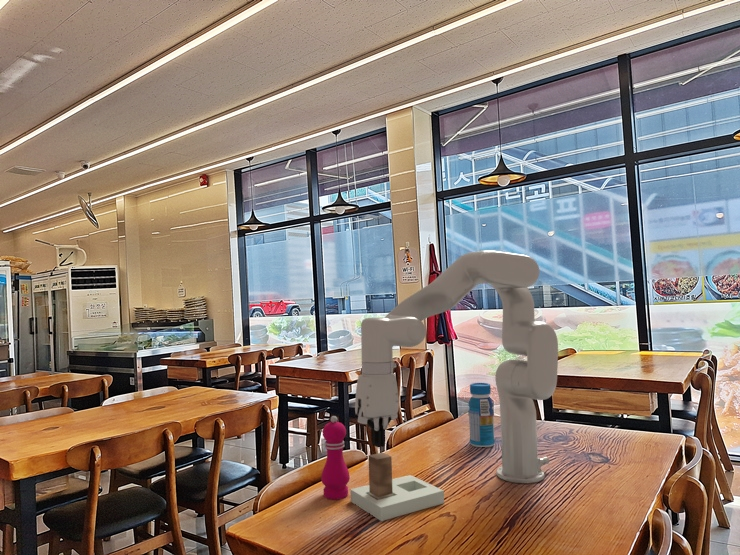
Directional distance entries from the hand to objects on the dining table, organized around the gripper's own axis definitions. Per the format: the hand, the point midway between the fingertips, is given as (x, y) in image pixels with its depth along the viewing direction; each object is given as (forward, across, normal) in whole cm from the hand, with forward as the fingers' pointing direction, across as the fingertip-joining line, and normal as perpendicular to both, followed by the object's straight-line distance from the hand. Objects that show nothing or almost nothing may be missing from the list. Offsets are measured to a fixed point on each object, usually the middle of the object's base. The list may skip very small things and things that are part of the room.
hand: (378, 445), depth 129 cm
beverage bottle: (+14, -56, -25) cm, 63 cm away
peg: (+14, 0, 0) cm, 15 cm away
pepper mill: (+15, +5, -13) cm, 20 cm away
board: (+14, -5, 0) cm, 15 cm away
